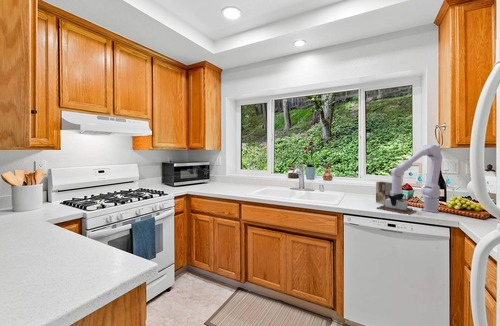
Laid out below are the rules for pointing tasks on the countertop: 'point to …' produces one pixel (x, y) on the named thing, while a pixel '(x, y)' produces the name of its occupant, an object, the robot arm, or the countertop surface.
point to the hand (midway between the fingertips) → (396, 205)
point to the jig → (397, 210)
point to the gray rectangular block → (397, 204)
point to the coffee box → (383, 191)
